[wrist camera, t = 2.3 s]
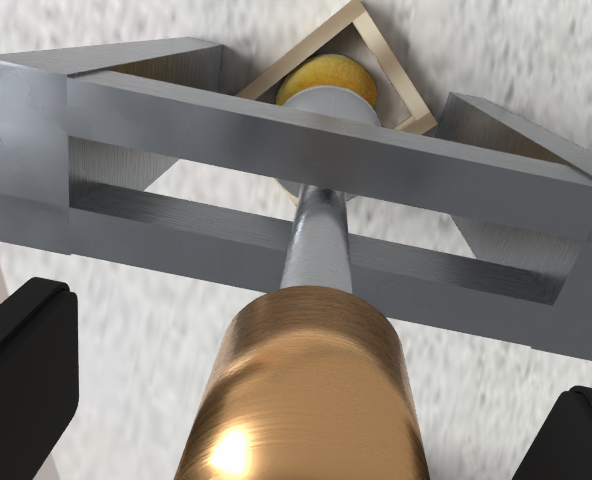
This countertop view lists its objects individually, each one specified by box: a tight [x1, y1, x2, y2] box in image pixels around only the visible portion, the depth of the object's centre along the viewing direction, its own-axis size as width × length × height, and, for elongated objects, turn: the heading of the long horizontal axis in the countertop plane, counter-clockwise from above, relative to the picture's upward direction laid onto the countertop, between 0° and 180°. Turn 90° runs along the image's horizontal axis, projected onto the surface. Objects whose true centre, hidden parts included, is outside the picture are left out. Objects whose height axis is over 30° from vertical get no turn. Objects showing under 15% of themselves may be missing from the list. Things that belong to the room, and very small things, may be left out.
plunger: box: [174, 85, 430, 480], centre depth 18 cm, size 7×7×25 cm
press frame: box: [0, 37, 592, 361], centre depth 29 cm, size 7×25×25 cm, turn 79°
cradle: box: [235, 0, 438, 207], centre depth 39 cm, size 11×13×2 cm
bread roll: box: [275, 54, 377, 108], centre depth 39 cm, size 8×9×4 cm
